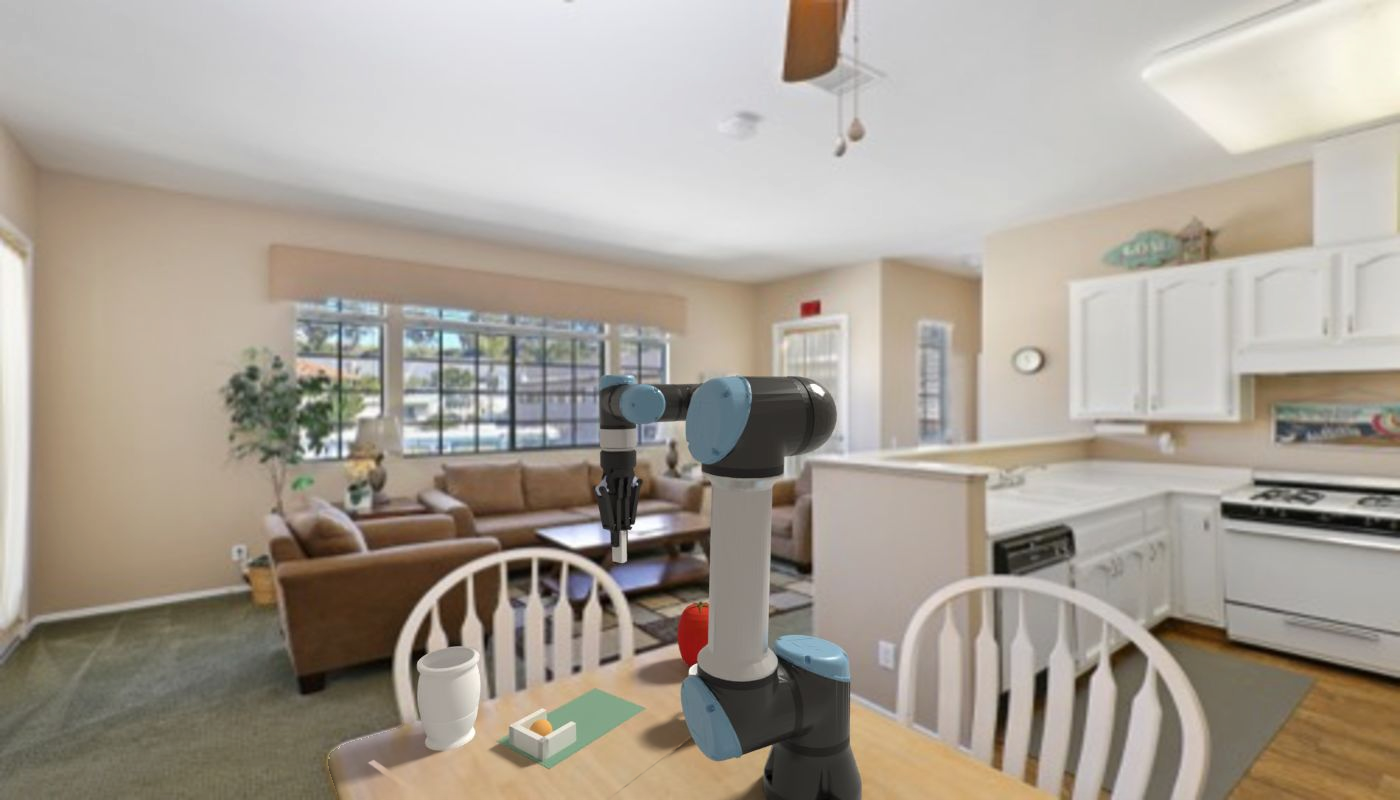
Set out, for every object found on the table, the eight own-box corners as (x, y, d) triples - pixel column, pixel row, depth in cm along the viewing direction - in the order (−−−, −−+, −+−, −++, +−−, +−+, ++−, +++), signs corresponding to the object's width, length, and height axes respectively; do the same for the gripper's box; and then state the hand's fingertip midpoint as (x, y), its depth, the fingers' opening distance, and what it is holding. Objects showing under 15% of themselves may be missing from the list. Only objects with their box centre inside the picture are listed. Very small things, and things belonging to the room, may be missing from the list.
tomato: (708, 648, 153) (707, 590, 153) (740, 664, 144) (740, 602, 144) (665, 664, 145) (665, 602, 145) (697, 682, 136) (697, 616, 136)
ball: (556, 743, 113) (558, 720, 113) (539, 752, 110) (541, 728, 110) (540, 735, 115) (542, 712, 115) (523, 743, 112) (525, 720, 112)
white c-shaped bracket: (576, 741, 113) (575, 723, 113) (543, 761, 107) (542, 742, 107) (542, 725, 119) (542, 708, 118) (509, 743, 113) (509, 725, 113)
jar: (456, 718, 122) (454, 641, 122) (493, 733, 117) (492, 652, 116) (405, 746, 113) (403, 662, 113) (444, 764, 108) (442, 676, 107)
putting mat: (646, 711, 124) (645, 708, 124) (549, 772, 105) (549, 768, 105) (595, 690, 133) (595, 688, 133) (496, 744, 113) (496, 741, 113)
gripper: (626, 445, 141) (627, 551, 141) (582, 450, 130) (584, 565, 131) (652, 447, 136) (653, 557, 137) (609, 453, 126) (610, 572, 126)
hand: (619, 561), depth 134 cm, fingers closed
